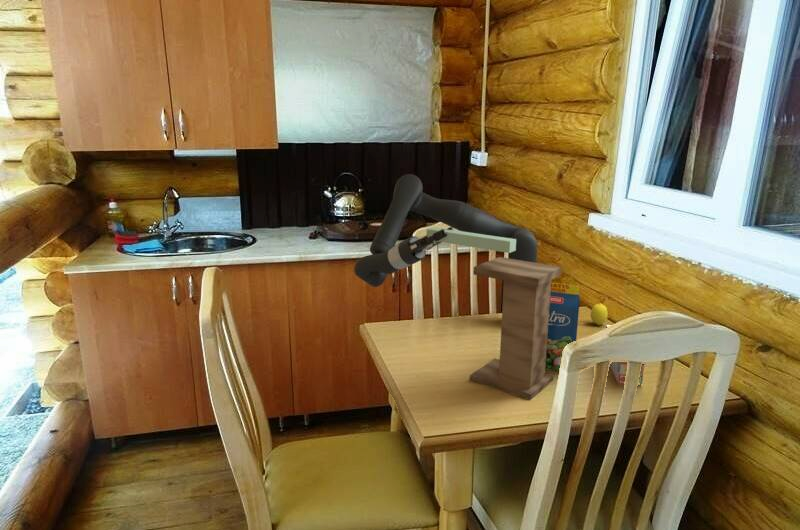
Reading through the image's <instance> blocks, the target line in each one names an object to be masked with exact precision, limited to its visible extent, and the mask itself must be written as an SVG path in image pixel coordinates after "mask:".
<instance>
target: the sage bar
mask: <svg viewBox="0 0 800 530" xmlns="http://www.w3.org/2000/svg"><path fill="white" fill-rule="evenodd" d="M442 229H443V227H442V228H441V227H434V226H433V227H429V228H426V235H428V236H429V235H430V234H434V233H436V232H438V231H440V230H442ZM444 229H445V231H446V233H447V236H446V237H444V238H442V239H440V240H438V241H439V242H442V243H445V244H446V243H447V244H453V245H458V246H462V247H463V246H465V247H471V248H475V249H476V248H477V249H483V250H489V251H495V252H501V253H507V254H508V253H511V252H513V251H516V239H511V238H504V237H497V236H490V235H484V234H477V233H470V232H463V231H459V230H457V229H454V230H449V229H448V228H444Z"/></svg>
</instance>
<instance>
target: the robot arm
mask: <svg viewBox="0 0 800 530" xmlns="http://www.w3.org/2000/svg"><path fill="white" fill-rule="evenodd" d="M395 183H396V184H395V186H394V189H393V190H394V191H393V197H392V200H391V202H390V205H389V207H388V210H387V212H386V214H385V216H384V218H383V220H382V222H381V224H380V226H379V228H378V230H377V232H376V234H375V237H374V238H373V240H372V242H371V243H370V244H371V245H370V247H369V252H370V254H368V255H365V256H362V257H361V258H360V259H358V260H357V261H356V262H355V264H354V267H353V272H354V275H355V276H356V277H357V278H358V279H360V280H362V281H363V282H365V283H367V284H368V285H369V286H371V287H374V288H377V287H380V286H381V285H383V284H384V283H385V281H386V279H387V277H388V275H392V274H394V273H397V272H398V271H400V270H402V269H405V268H407V267H410V266H413V265H414V264H416V263H418V262H420V261H422V260H425V259H424V258H425V257H426V254H427V251H430V250H432V249H433V248H434V247H436V246H438V245H440V244H441V243H443V242H439V241H438V240H440V239H442V238H444V237H446V236H447V233H446V231H445V229H446V228H442V230H440V231H438V232H436V233H434V234H430V235H429V236H428V235H427V234H426V235H424V236H422V237H420V238H419V237H418V236H413V235H412V236H410V237H408V238H406V239H404V240H402V241H400V242H399V243H397V241H398V239H399V236H400V233H401V231H402V229H403V225H404V223H405V221H406V218H407V215H408V213H409V211H412V212H414V213H417V214H420V215H423V216H426V217H428V218H431V219H433V220H435V221H438V222H440V223H442V224H444V225H446V226H449V227H448V228H447V229H449V230H456V231H463V232H470V233H477V234H484V235H490V236H497V237H504V238H511V239H516V251H513V252H511V253H507V258H509V259H516V260H522V261H528V262H534V263H537V260H538V259H537V257H538V242H537V239H536V236H535V235H534V234H533V232H532V231H530V230H529V229H526V228H523V227H521V226H516V225H515V224H512V223H511V224H510V223H508V222H505V221H502V220H500V219H498V218H497V217H494V216H493V215H491V214H490V213H487V212H485V211H483V210H481V209H479V208H477V207H474V206H472V205H470V204H468V203H466V202H463V201H459V200H452V199H442V198H437V197H434V196H431V195H429V194H428V193H425V192H423V188H424V187H423V183H422V180H421V179H420V178H419V177H418V176H417V175H415V174H411V173H410V174H409V173H408V174H404V175H402V176H401V177H400V178H398V180H397V181H396V182H395Z"/></svg>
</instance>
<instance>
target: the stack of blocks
mask: <svg viewBox="0 0 800 530" xmlns="http://www.w3.org/2000/svg"><path fill="white" fill-rule="evenodd" d="M611 325H612V324H605V329H606V328H607V327H609V326H611ZM609 367H610V369H611V368H612V369H611V371H612V373H613V375H614V378H615V380H616V383H617V384H618V385H625V384H624V382H625V376H626V371H627V362H612V363H611V364H610V365H609ZM644 370H645V364H642V366H641V371H640V377H639V383H640V385H641V384H642V385H643V379H644ZM640 385H639V386H640Z"/></svg>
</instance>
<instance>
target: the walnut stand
mask: <svg viewBox="0 0 800 530" xmlns="http://www.w3.org/2000/svg"><path fill="white" fill-rule="evenodd" d="M562 270H563V269H562V266H557V265H550V264H545V263H538V262H536V263H534V262H528V261H522V260H516V259H509V258H508V257H503V256H498V257H496V258H493V259H491V260H488V261H486V262H483V263H480V264H477V265H475V266H473V272H472V274H473V275H474V276H481V277H484V278H491V279H495V280H501V281H503V289H502V304H501V305H502V306H501V307H502V308H501V309H502V310H501V311H502V312H501V327H500V329H501V331H500V348H499V352H500V353H499V359H498V358H493V359H492V360H491V361H489V362H487V363H486V364H484V365H483V366H481V367H479V368H478V369H477V370H475V371H474V372H472V373H471V374H469V381H471V382H474V383H477V384H480V385H483V386H486V387H489V388H493V389H496V390H499V391H502V392H505V393H508V394H511V395H515V396H518V397H521V398H523V397H524V399H526V398H527V400H530V401H531V400H533V399H534V398H535V397H536V396H537V395H538V394H539V393H540V392H542V391H543V390H544V389H545V388H546V387H547V386H548V385H550V384H551V383H552V382H553V381H554V375H553V374H550V373H547V372H546V369H545V363H546V349H547V335H548V321H549V307H550V293H551V282H552V281H553V280H554V279H555V278H558V277H559V276H561V275H562ZM549 383H550V384H549Z"/></svg>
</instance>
